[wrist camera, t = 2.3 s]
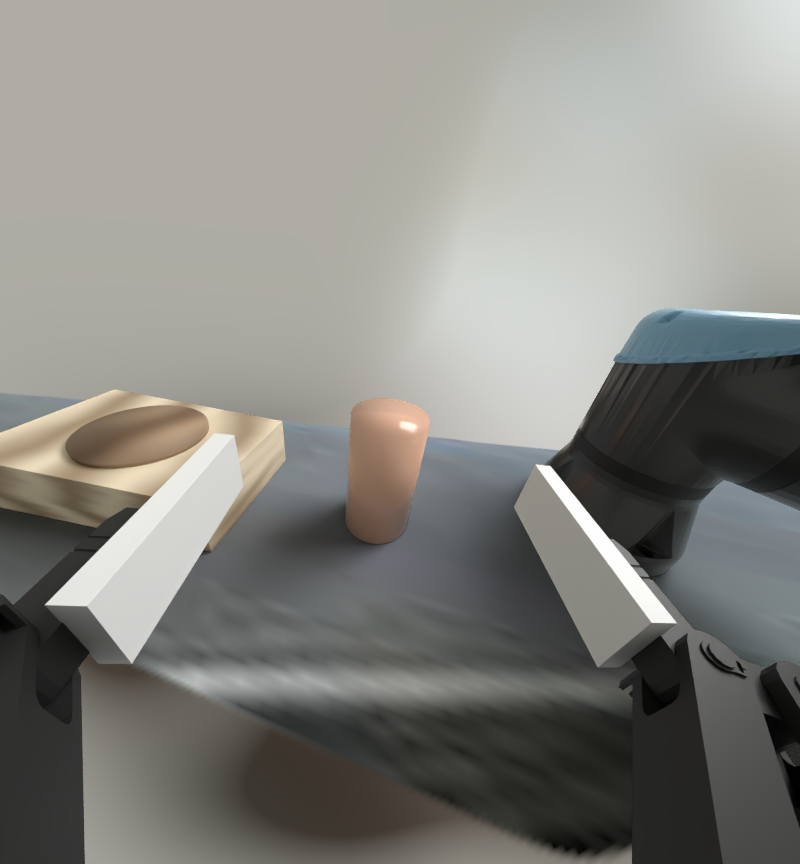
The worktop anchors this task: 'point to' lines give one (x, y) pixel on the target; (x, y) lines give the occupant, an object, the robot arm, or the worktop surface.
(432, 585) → the worktop surface
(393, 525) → the slanted peach cylinder
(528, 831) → the worktop surface
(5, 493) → the plinth
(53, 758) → the robot arm
